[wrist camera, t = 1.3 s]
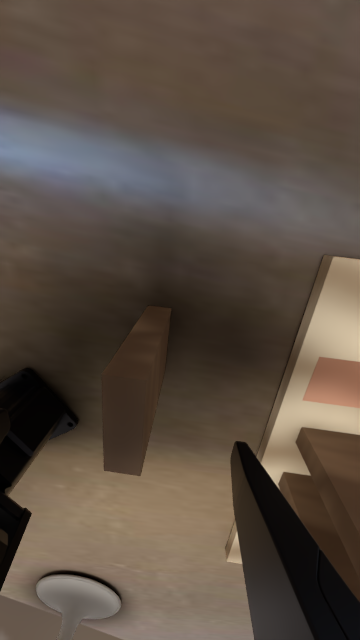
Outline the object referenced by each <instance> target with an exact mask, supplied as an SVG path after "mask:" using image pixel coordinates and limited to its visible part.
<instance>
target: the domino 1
mask: <svg viewBox="0 0 360 640" xmlns="http://www.w3.org/2000/svg"><path fill="white" fill-rule="evenodd" d="M170 317H171V308H165V307H157V306H149V305H148V306H147V308H146V309H145V311H144V312H143V314H142V315H141V317H140V318H139V320H138V321H137V323H136V324H135V326H134V327H133V329H132V330H131V331H130V333H129V334H128V336H127V337H126V339H125V340H124V342H123V343H122V345H121V346H120V348H119V349H118V351H117V352H116V354H115V355H114V357H113V358H112V360H111V361H110V362H109V364H108V365H107V367H106V368H105V370H104V371H103V373H102V413H103V452H104V471H110V472H117V473H124V474H130V475H137V476H141V472H142V467H143V463H144V459H145V454H146V450H147V446H148V442H149V437H150V433H151V429H152V425H153V420H154V416H155V412H156V407H157V403H158V399H159V395H160V390H161V386H162V382H163V378H164V373H165V368H166V358H167V348H168V338H169V328H170Z"/></svg>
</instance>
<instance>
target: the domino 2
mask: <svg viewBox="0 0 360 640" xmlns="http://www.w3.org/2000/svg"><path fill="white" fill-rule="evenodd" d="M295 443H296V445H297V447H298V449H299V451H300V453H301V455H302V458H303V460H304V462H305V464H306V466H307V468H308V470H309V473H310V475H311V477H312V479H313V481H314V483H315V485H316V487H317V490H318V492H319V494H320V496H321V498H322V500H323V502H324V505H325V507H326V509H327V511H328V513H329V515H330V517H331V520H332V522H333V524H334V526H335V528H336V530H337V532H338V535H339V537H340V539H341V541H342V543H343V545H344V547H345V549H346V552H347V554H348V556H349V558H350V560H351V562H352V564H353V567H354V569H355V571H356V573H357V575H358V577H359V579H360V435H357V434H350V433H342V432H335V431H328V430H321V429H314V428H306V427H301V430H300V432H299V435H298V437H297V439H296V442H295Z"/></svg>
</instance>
